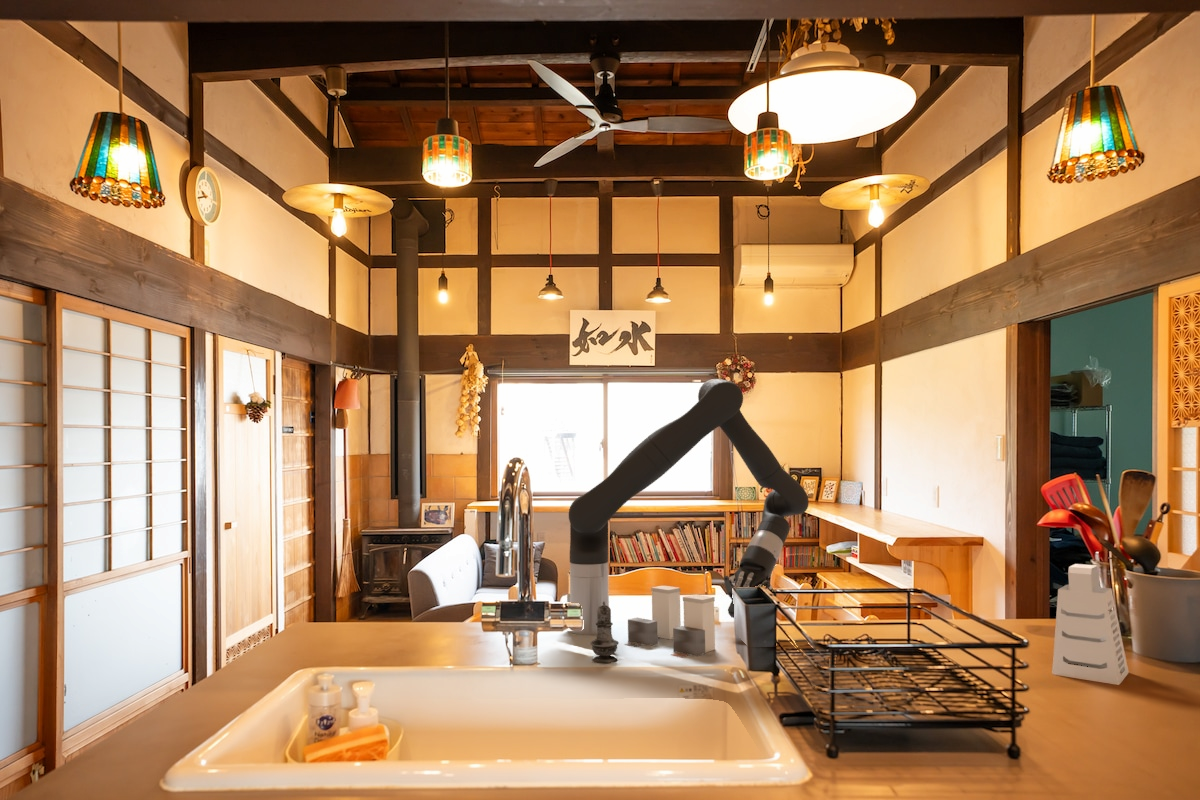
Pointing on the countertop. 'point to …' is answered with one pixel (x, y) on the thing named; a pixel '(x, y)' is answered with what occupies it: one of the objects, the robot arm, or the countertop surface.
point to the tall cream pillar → (666, 609)
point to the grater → (1088, 630)
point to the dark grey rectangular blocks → (683, 637)
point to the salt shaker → (604, 637)
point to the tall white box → (701, 617)
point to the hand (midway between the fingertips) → (732, 615)
